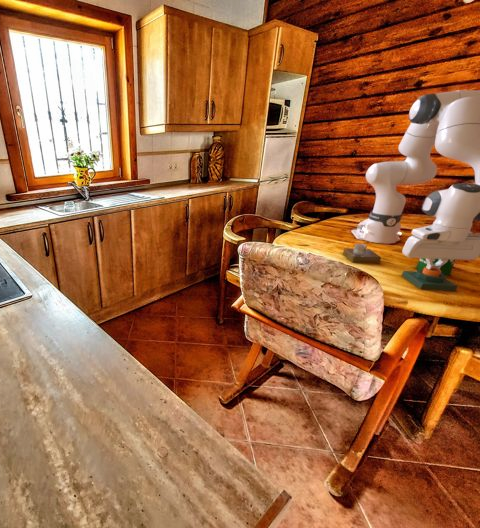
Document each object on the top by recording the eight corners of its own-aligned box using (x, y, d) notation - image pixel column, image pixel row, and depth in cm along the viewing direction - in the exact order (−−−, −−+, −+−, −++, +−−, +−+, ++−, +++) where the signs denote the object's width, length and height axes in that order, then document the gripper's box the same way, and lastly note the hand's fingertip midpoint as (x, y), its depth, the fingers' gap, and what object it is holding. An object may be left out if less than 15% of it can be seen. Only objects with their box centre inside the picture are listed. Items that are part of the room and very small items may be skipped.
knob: (351, 251, 126) (353, 242, 124) (361, 252, 125) (364, 243, 123) (355, 255, 122) (358, 245, 120) (366, 255, 121) (368, 246, 119)
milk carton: (411, 266, 115) (429, 220, 107) (437, 267, 114) (457, 220, 105) (427, 276, 108) (448, 226, 99) (455, 277, 106) (479, 226, 98)
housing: (401, 275, 109) (404, 266, 107) (432, 277, 107) (436, 268, 105) (420, 289, 99) (424, 279, 98) (455, 291, 97) (460, 281, 95)
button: (419, 271, 104) (421, 266, 103) (433, 272, 103) (435, 267, 102) (427, 276, 100) (429, 271, 99) (442, 277, 99) (444, 272, 98)
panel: (339, 254, 131) (341, 247, 130) (367, 255, 128) (369, 248, 127) (350, 262, 122) (352, 256, 121) (380, 264, 119) (382, 257, 118)
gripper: (479, 230, 95) (461, 267, 101) (406, 229, 100) (394, 264, 106) (495, 236, 90) (476, 274, 95) (418, 234, 95) (404, 271, 101)
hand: (432, 269), depth 101 cm, fingers closed
